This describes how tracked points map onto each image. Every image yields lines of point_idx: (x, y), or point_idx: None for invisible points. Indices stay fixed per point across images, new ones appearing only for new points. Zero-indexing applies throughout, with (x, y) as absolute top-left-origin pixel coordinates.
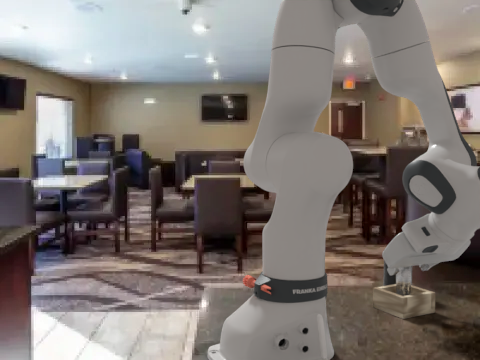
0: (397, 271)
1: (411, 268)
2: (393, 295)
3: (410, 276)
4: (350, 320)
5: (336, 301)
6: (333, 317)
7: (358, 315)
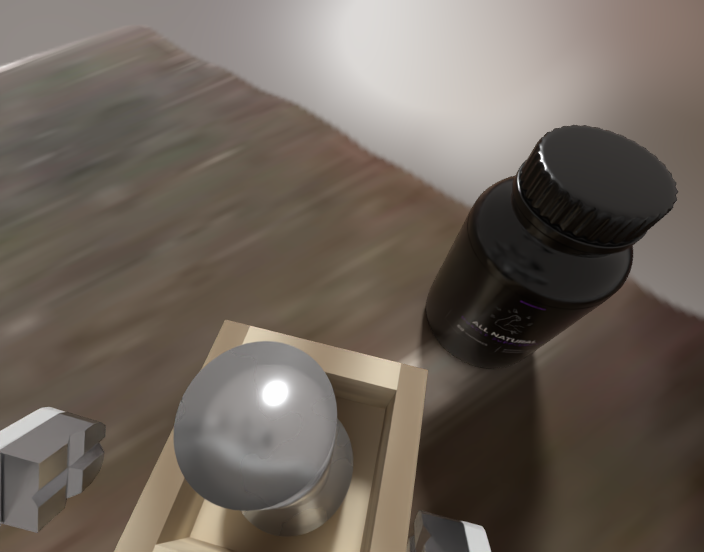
0: (9, 524)
1: (572, 318)
2: (152, 478)
3: (280, 508)
4: (15, 394)
5: (225, 236)
6: (26, 328)
7: (102, 377)
